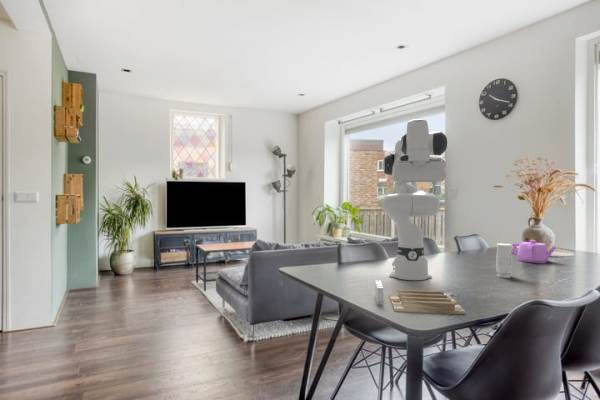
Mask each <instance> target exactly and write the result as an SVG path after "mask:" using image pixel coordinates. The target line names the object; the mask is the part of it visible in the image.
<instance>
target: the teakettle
mask: <svg viewBox="0 0 600 400" xmlns="http://www.w3.org/2000/svg"><path fill="white" fill-rule="evenodd" d="M512 245H513V246H512V254H514V255H516V256H517V259H518V262H524V263H534V264H546V263H547V262H548V259H549V258H550V257H551V255H552V254H553V253H554V252H555V251H556V250H557V246H552V247H551V248H550V249H548V247H547V244H546V243H543V242H537V240H536V239H529V241H522V242H513V243H512ZM517 247H518V250H517Z"/></svg>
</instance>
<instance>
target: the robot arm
mask: <svg viewBox="0 0 600 400" xmlns="http://www.w3.org/2000/svg"><path fill="white" fill-rule="evenodd" d="M394 145H395V146H394V152H392V151H391V152H390V153H388V154H387V155H386V156H385V157H384V158H383V161H382V164H381V167H382V170H383V173H384V174H385V175H388V176H392V181H393V183H394V193H390V194H387V195H385V196H384V198H383V200H382V203H381V207H382V211H383V212H384V214H385V215H386V216H388V217H389V218H390V219H391V220H392V222H393V223H394V225H395V227H396V230H397V238H398V239H397V243H398V244H397V245H398V246H397V249H396V254H397V255H396V256H395V258H394V259H393V260H392V263H391V265H392V269H391V272H390V273H389V277H390V278H395V279H399V280H404V281H405V280H406V281H407V280H408V281H423V280H427V279H432V278H433V276H432V275H431V274H429V267H428V265H429V263H428V259H427V258H426V257H425V247H424V231H423V229H422V228H421V227H420V226H419V225H417V224H415V223H412V222H411V221H410V218H427V217H432V216H436V215H437V214H438V213H439V211H440V210H441V201H440V198H439V197H438V196H437V195H436V194H434V193H435V189H434V188H435V187H436V186H437V183H438V182H440V183H441V182H444V181H445V180H446V179H447V174H446V161H445V159H443V158H440V157H438V158H433V157H431V156H441V155H442V154H444V153H445V152H446V150H447V147H448V139H447V136H446V134H444V133H443V131H440V130H439V131H431V132H430V131H429V125H428V121H427V119H423V118H422V119H420V118H419V119H418V118H417V119H411V120H408V121H407V125H406V132H405V134H404V135H403V136H402V137H400V138H399V139H398V141H396V143H395V144H394ZM425 182H426V183H430V182H431V185H432V186H431V187H430V188H428V190H429V191H428V192H426V191H424V190H423V189H421V188H419V186H417V183H425Z"/></svg>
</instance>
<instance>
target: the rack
mask: <svg viewBox="0 0 600 400" xmlns="http://www.w3.org/2000/svg"><path fill="white" fill-rule="evenodd" d="M388 297H389V298H388V299H389V300H390V303H391V305H392V309H393V311H394V312H399V313H400V312H401V313H403V312H404V313H424V314H425V313H427V314H446V315H447V314H451V315H453V314H454V315H466V310H465V309H464V308H463V307H462V305H460V304H459V303H458V302H457V301H456V300H455V299H454V298H453V296H447V295H444V291H443V290H441V291H440V290H421V289H419V290H418V289H417V290H416V289H415V290H414V289H397V294H393V293H391V294H390V293H389V294H388Z"/></svg>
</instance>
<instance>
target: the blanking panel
mask: <svg viewBox="0 0 600 400" xmlns="http://www.w3.org/2000/svg"><path fill="white" fill-rule="evenodd" d="M374 282H375V284H374V287H375V289H374V290H375V292H374V293H375V294H374V297H375V301H376V305H377V306H378V305H379V306H383V305H384V286H383V283H382V280H380V279H378V280H377V279H375V281H374Z"/></svg>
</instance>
